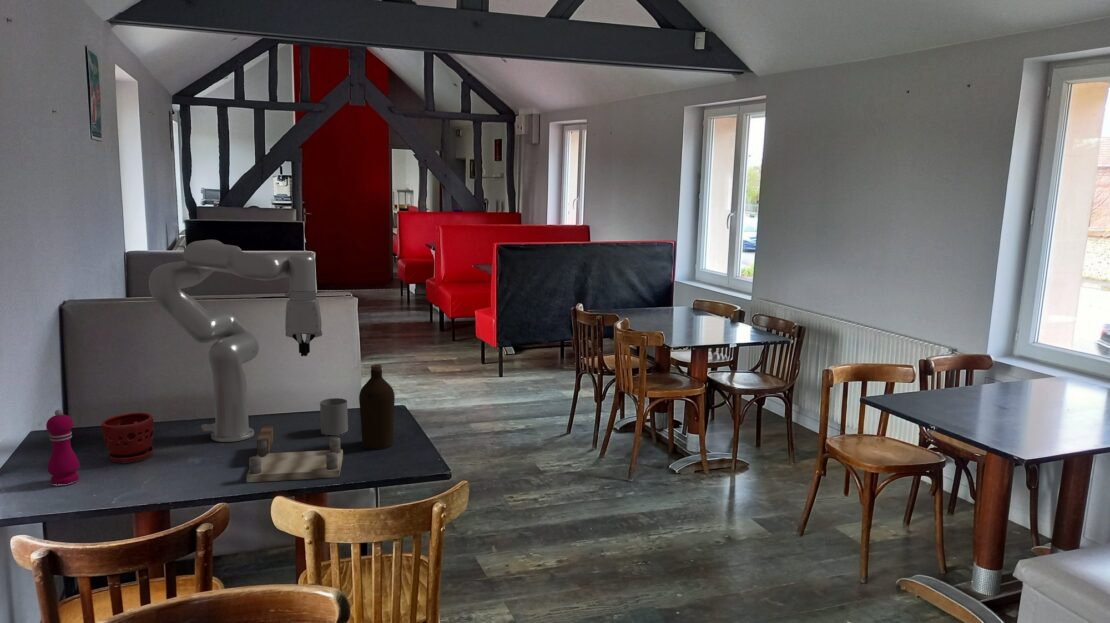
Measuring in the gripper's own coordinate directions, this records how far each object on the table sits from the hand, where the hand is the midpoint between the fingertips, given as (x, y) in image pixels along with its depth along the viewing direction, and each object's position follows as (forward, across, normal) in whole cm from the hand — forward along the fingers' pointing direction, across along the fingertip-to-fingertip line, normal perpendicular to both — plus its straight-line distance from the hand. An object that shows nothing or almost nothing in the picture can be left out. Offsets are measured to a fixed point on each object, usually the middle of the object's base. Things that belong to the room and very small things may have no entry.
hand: (304, 355), depth 239 cm
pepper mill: (+28, -58, -27) cm, 70 cm away
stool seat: (+27, +1, -24) cm, 36 cm away
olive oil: (+27, +22, -5) cm, 36 cm away
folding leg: (+25, -10, -12) cm, 29 cm away
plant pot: (+28, -48, -10) cm, 56 cm away
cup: (+28, +7, +9) cm, 30 cm away
